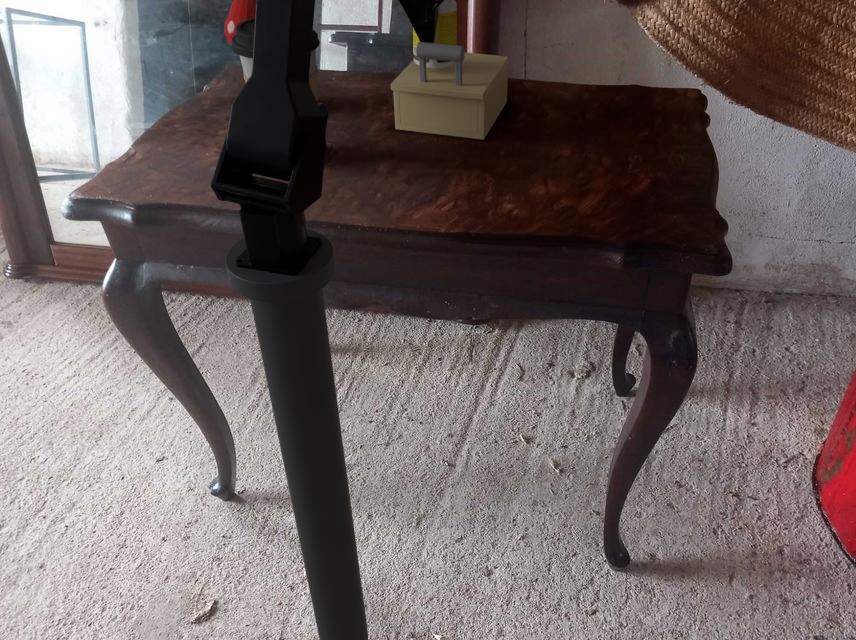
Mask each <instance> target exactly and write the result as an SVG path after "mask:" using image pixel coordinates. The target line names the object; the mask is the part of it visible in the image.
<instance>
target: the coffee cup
mask: <svg viewBox="0 0 856 640" xmlns="http://www.w3.org/2000/svg"><path fill="white" fill-rule="evenodd" d="M254 30H255V17H254V18H251V19H247V20H245V21H242V22H241V23H239V24H238V25H237V26H236V34H235V35H234V36H233V38H232V44H231V46H230V47H231V51H232V52H233V53H235V54H236V55H238V56H239V59H240V62H241V66H242V70H243V73H242V74H243V79H244V82H245V83H246V82H247V80H248V79H249V77H250V76H251V73H252V64H253V47H254ZM320 44H321V41H320V39H319V34H318V32H317V31H316V30H314V29H313V34H312V46H311V59H310V71H309V84H310V87H311V89H312V91H313V93H314V96H315V98H316V100H317V102H319V83H318V81H319V80H318V77H319V75H318V73H319V72H318V66H317V51H316V50H317V49H318V47H320ZM245 83H244V84H245Z"/></svg>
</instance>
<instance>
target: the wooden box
mask: <svg viewBox="0 0 856 640" xmlns="http://www.w3.org/2000/svg"><path fill="white" fill-rule="evenodd" d="M508 79H509V62H508V63H507V65H506V66H505V68H504V69H503V71H502V72H501V74H500V75H499V77H498V78H497V80H496V81H495V83H494V84H493V86H492V87H491V89H490V90H489V92H488V93H487V95H486V96H485V98H484V99H483V100H476V99H467V98H458V97H449V96H440V95H431V94H421V93H412V92H403V91H394V90H392V92H393V109H394V129H395V130H399V131H407V132H416V133H424V134H433V135H440V136H449V137H457V138H465V139H466V138H467V139H475V140H481V141H482V140H483V141H484V140H485V138H486V137H487V135H488V134H489V132H490V130H491V129H492V127H493V125H494V124H495V122H496V121H497V119H498V117H499V116H500V114H501V113H502V111H503V109H504V107H505V106H506V104H507V102H508V83H509V82H508Z"/></svg>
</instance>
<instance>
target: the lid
mask: <svg viewBox="0 0 856 640" xmlns="http://www.w3.org/2000/svg"><path fill="white" fill-rule="evenodd" d="M416 55H417V57H418V58H419V65H417V64H416V63H415V62H414V59H413V60H412V61H411V62H410V63H409V64H408V65H407V66H406V67H405V68H404V69H403V70H402V72H400V73H399V75H398V76H396V78H395V79H394V80H393V81H392V82H391V83H390V91H393V90H394V91H403V92H412V93H421V94H431V95H440V96H449V97H458V98H467V99H476V100H483V99H484V98H485V96H486V95H487V93H488V92H489V90H490V89H491V87H492V86H493V84H494V83H495V81H496V80H497V78H498V77H499V75H500V74H501V72H502V71H503V69H504V68H505V66H506V65H507V63H508V64H509V56H507V55H497V54H496V55H495V54H487V53H475V52H466V49H465V46H464V45H458V44H457V45H446V44H436V43H425V42H418V44H417V48H416ZM426 59H433V60H443V61H453V62H455V63H454V64H453V65H452V66H449V67H445V68H426Z"/></svg>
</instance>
